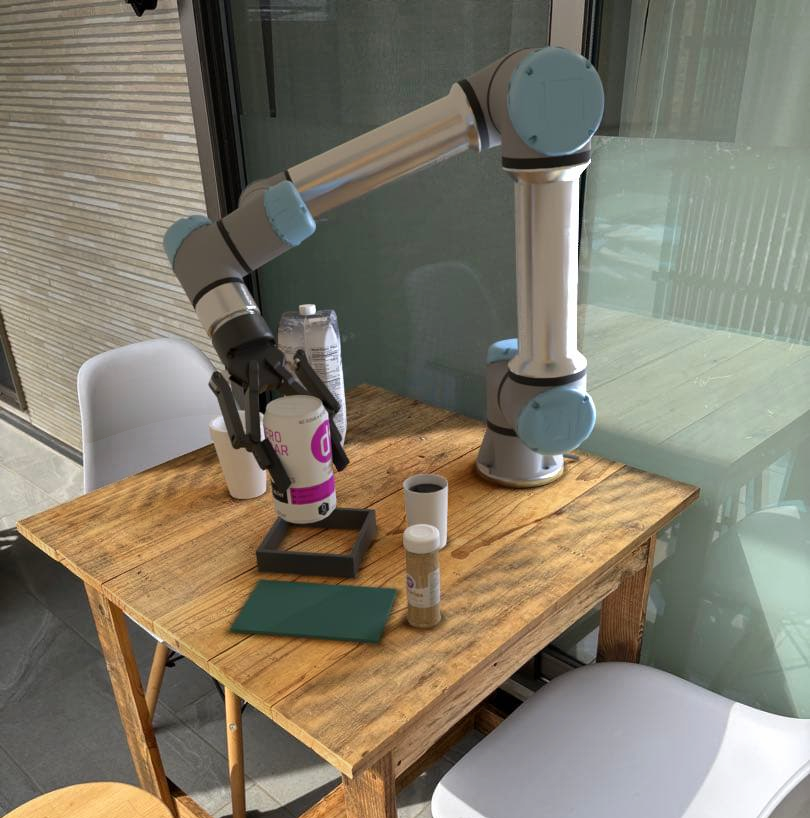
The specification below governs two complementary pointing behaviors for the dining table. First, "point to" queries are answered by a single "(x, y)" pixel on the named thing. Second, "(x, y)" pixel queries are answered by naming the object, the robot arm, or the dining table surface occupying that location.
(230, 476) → the foam cup
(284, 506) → the supplement can
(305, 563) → the square frame
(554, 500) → the dining table surface
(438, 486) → the white coffee cup
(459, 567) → the dining table surface
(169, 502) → the dining table surface
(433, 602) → the sprinkles bottle
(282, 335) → the juice carton
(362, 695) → the dining table surface
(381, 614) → the mat
